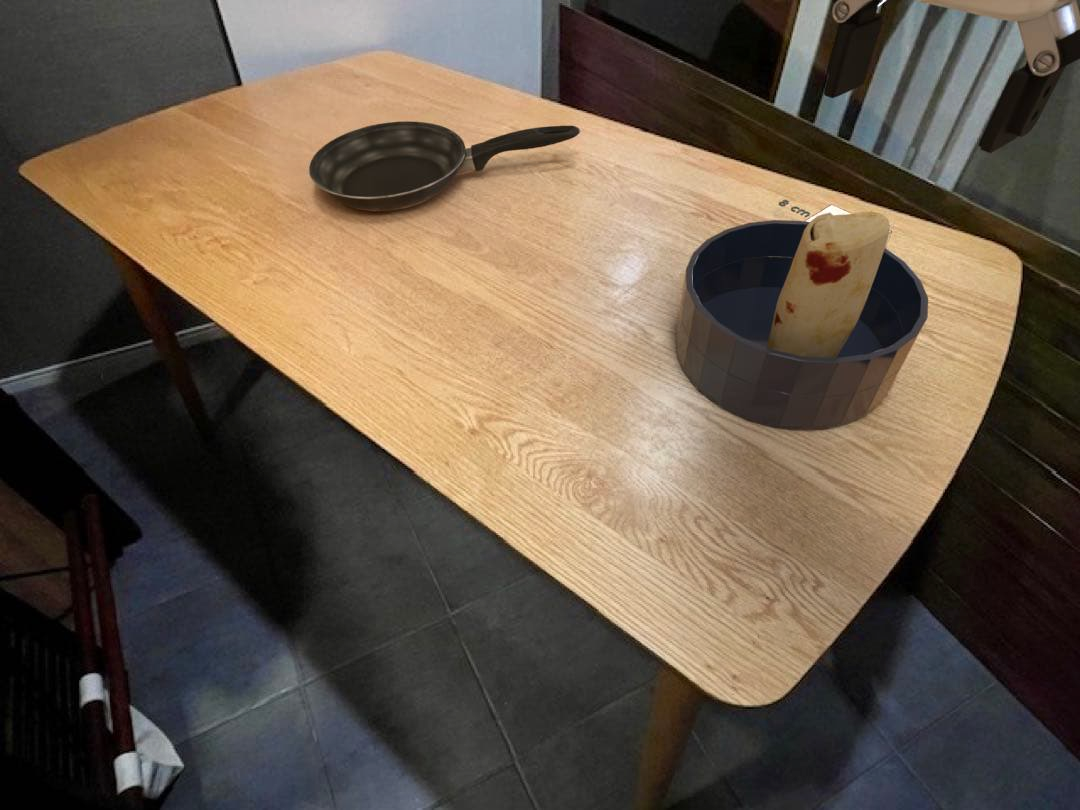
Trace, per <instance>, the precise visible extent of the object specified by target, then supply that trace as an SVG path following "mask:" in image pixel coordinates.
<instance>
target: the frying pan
mask: <svg viewBox="0 0 1080 810" xmlns="http://www.w3.org/2000/svg"><path fill="white" fill-rule="evenodd" d="M580 133H581V129H580V128H579V127H577V126H575V125H549V126H538V127H532V128H525V129H521V130H516V131H512V132H508V133H505V134H501V135H498V136H495V137H492V138H490V139H487V140H485V141H482V142H479V143H475V144H472V145H470V147H468V148H466V144H465V141H464V140H463V138H462V137H461V136H460V135H459V134H458V133H457V132H455V131H454V130H452V129H451V128H448V127H445V126H443V125H439V124H435V123H431V122H425V121H411V120H410V121H408V120H406V121H391V122H382V123H376V124H372V125H371V124H370V125H367V126H363V127H360V128H358V129H354V130H351V131H349V132H347V133H344V134H341V135H340V136H337V137H336V138H334V139H332V140H330V141H329V142H327V143H326V144H324V145H323V146H322V147H321V148H319V150H317V152H316V153H315V154H314V155H313V156H312V158H311V161H310V162H309V168H308V173H309V176H310V179H311V180H312V182H313V183H314V185H315V186H316V187H318V188H319V189H321V190H322V191H324V192H325V193H326V195H328V196H329V197H331V198H332V199H333V200H335V201H337V202H338V203H341V204H343V205H345V206H347V207H350V208H353V209H357V210H362V211H369V212H390V211H397V210H404V209H406V208H411V207H414V206H417V205H420V204H422V203H424V202H427V201H429V200H431V199H433V198H434V197H436V196H437V195H439V194H440V193H442V192H443V190H445V189H446V188H447V187H448V186H449V185H450V184H451V183H452V181H453V180H454V179H455V177H456V176H460V175H465V174H468V173H471V172H481V171H483V170H484V169H485V167H486V165H487V164H488V162H489V161H490V160H491V159H492V158H494V157H495V156H497V155H498V154H501V153H504V152H512V151H524V150H531V149H533V150H534V149H537V148H543V147H548V146H552V145H556V144H559V143H562V142H565V141H569V140H571V139H574V138H576V137H577V136H578V135H580Z"/></svg>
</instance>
